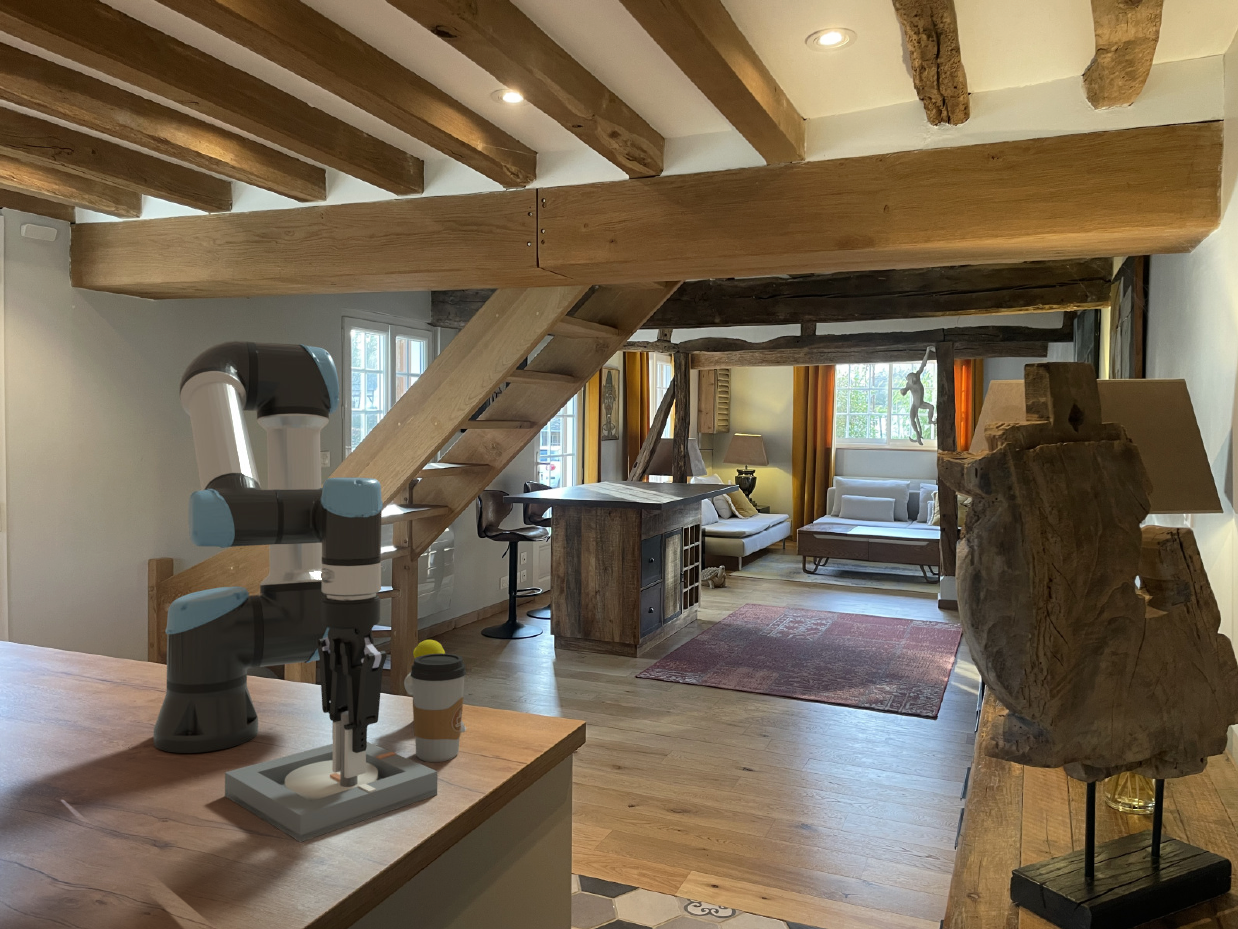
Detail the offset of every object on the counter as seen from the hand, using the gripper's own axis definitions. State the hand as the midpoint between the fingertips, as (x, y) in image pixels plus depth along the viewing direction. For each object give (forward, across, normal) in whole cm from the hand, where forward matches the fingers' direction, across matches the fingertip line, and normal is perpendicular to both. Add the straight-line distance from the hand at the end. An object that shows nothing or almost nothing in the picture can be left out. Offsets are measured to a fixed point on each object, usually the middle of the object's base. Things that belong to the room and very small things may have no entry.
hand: (349, 771), depth 117 cm
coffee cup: (+4, -6, +19) cm, 20 cm away
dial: (+3, -4, 0) cm, 5 cm away
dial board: (+4, -4, 0) cm, 6 cm away
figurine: (+4, -16, +26) cm, 31 cm away
